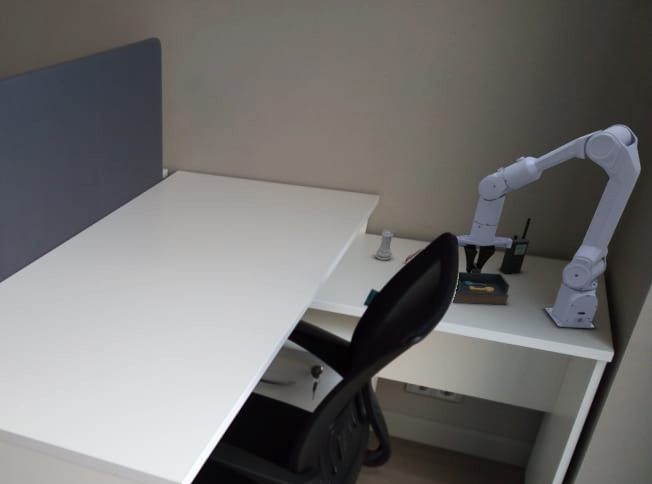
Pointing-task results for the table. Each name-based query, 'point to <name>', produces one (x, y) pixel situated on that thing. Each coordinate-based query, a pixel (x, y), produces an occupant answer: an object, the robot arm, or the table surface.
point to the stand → (480, 298)
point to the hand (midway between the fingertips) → (472, 272)
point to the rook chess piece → (385, 246)
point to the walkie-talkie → (515, 253)
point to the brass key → (482, 289)
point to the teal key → (468, 283)
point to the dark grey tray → (477, 277)
